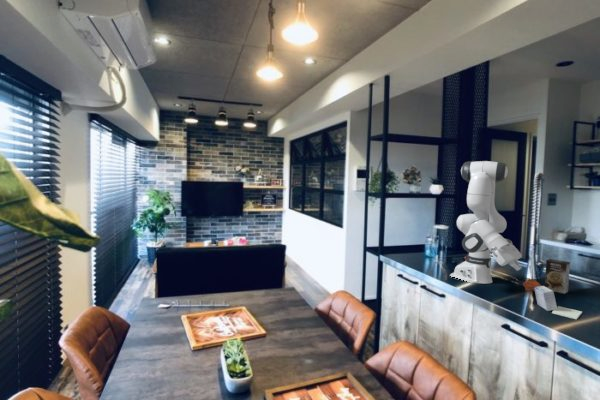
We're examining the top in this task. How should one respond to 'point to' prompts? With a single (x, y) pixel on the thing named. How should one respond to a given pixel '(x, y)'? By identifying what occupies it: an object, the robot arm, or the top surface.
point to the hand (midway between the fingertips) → (519, 269)
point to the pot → (531, 284)
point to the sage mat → (567, 312)
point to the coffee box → (557, 275)
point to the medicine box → (545, 298)
